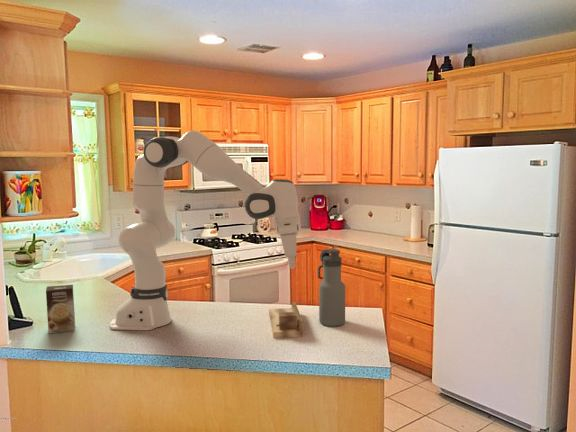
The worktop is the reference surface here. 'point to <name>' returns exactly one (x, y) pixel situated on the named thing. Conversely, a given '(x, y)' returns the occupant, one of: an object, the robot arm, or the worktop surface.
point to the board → (275, 321)
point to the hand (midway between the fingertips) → (292, 265)
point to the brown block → (287, 321)
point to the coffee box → (60, 308)
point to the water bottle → (331, 289)
